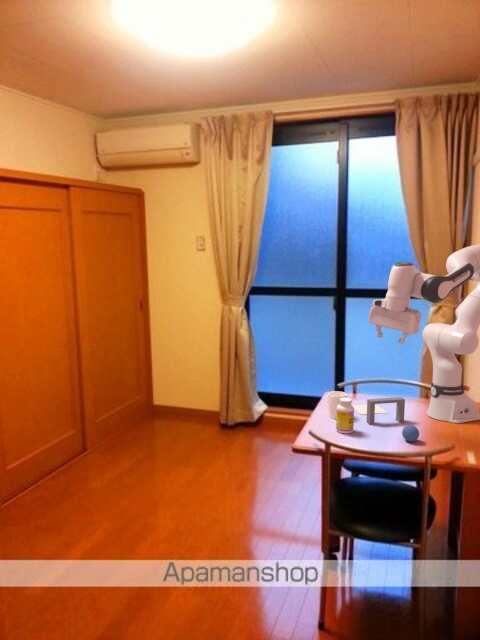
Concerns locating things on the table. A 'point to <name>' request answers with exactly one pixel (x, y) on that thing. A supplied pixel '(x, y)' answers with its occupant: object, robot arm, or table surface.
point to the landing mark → (363, 409)
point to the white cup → (334, 402)
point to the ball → (410, 433)
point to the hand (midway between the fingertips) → (390, 340)
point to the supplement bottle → (345, 416)
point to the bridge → (371, 403)
